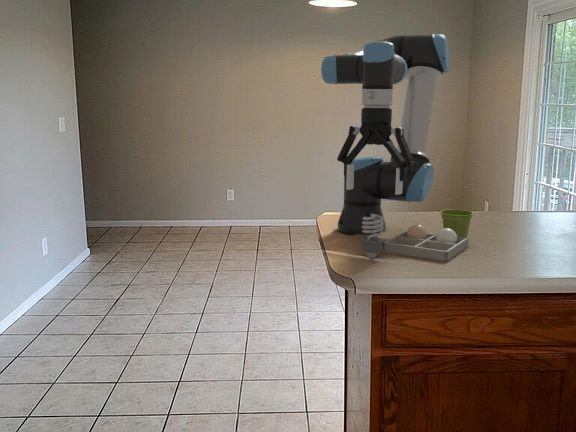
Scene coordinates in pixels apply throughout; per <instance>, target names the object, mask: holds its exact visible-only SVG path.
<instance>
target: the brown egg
mask: <svg viewBox="0 0 576 432" xmlns="http://www.w3.org/2000/svg"><path fill="white" fill-rule="evenodd" d="M407 230H408V231H407ZM407 230H406V231H407V237H408V238H415V239H422V240H425V239H426V237H427V233H428V231H427V229H426V228H425V227H424V226H423V225H421V224H412V225H410V226H409V228H408V229H407Z"/></svg>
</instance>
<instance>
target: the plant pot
mask: <svg viewBox="0 0 576 432" xmlns="http://www.w3.org/2000/svg"><path fill="white" fill-rule="evenodd" d="M439 214H441V219H442V224H443V225H442V226H443V229H444V228H449V229H452V230H453V231H454V232H455V233H456V235H457V237H462V238H468V232H469V228H470V223H471V220H472V216H473V215H474V212H473V211H470V210H465V209H442V210H440V211H439Z"/></svg>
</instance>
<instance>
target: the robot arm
mask: <svg viewBox="0 0 576 432" xmlns="http://www.w3.org/2000/svg"><path fill="white" fill-rule="evenodd" d="M450 54H451V53H450V45H449V41H448V38H447V36H446V35H445V34H443V33H442V34H441V33H440V34H439V33H438V34H434V33H431V34H406V35H403V34H402V35H394V36H390V37H387V38H383V39H381V40H377V41H374V42H373V41H372V42H368V43H365V45H364V46H363V49H359V50H355V51H352V52H349V53H345V54H341V55H340V54H338V55H337V54H334V55H327V56H324V58H323V60H322V62H321V67H320V72H321V73H320V74H321V78H322V80H323V81H324V83H326V84H330V85H331V84H333V85H340V84H341V85H342V84H343V85H345V84H347V85H348V84H349V85H352V84H359V85H361V84H362V86H361V106H363V107H362V108H361V109H360V110H361V115H360V118H361V119H360V123H361V125H360V126H357V125H350V126H349V129H348V134H347V137H346V139H345V141H344V144H343V145H342V148H341V150H340V151H339V154H338V156H337V159H336V160H337V161H338V162H341V163H343V205H342V206H343V207H342V210H341V213H340V216H339V219H338V222H337V231H338V232H339V233H342V234H346V235H352V236H354V235H371V234H372V233H363V232H362V230H375V229H363V228H362V226H363V225H365V224H362V222H363V221H373V220H363V217H371V214H376V215H379V216H382V217H383V223H384V224H383V227H384V229H383V233H384V232H386V230H387V229H386V228H387V225H386V224H387V223H386V219H385V218H384V213H383V209H382V200H385V201H388V200H389V201H398V202H407V203H421V202H424V201H425V200H426V199H427V198H428V196H429V195H430V192H431V189H432V187H433V183H434V174H435V169H434V165H433V164H431V161H430V158H429V157H428V155H427V154H426V153H427V147H428V142H429V141H428V138H429V133H430V127H431V126H430V125H431V122H432V114H433V106H434V100H435V95H436V94H435V93H436V89H437V84H438V83H439V82H441V81H442V79H443V75H444V74H446V73H448V72H450V67H451V65H450V64H451V59H450V58H451V56H450ZM404 79H407V88H406V93H405V100H404V105H403V106H404V107H403V113H402V119H401V124H400V127H399V126H398V127H395V128H394V127H392V121H393V120H392V117H393V116H392V115H393V110H392V107H391V106H392V105H393V92H394V91H393V89H394V88H393V87H394V85H397V84H399V83H401V82H403V81H404ZM390 107H391V108H390ZM359 134H360V135H361V138H360V139H359V140H358V141H357V143H356V145H355V146H354V147H353V145H354V142H355V140H356V138H357V136H358V135H359ZM391 135H393V137H395V140H396V142H397V147H396V146H395V145H394V142H393V140H392V139H391V138H390V137H391ZM367 145H375V146H383V147H384V148H385V149H386V150H387V152H388V154H389V155H390V161H384V158H383V156H380V155H379V156H366V157H358V158H357V156H358V155H359V154H360V153H361V152H362V150H363V149H364V148H365V147H366V146H367ZM352 147H353V148H352ZM351 149H352V150H351ZM350 150H351V151H350ZM375 218H376V217H375ZM377 219H380V218H377ZM379 224H381V223H379ZM369 226H374V225H372V224H370V225H369ZM379 228H381V227H379ZM377 233H380V232H376V234H377Z"/></svg>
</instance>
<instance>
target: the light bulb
mask: <svg viewBox="0 0 576 432" xmlns="http://www.w3.org/2000/svg"><path fill="white" fill-rule="evenodd" d="M375 217H376V218H375ZM377 218H380V219H377ZM363 220H373V221H363V222H362V224H365V225H363V226H362V228H363V229H375V230H362V232H363V233H372V234H368V236H365V237H363V238H362V239H361V250H362V251H363V252H366V256H367V258H369V259H371V260H373V259H375V258H376V257H377V253H379V252H380V253H381V251H382V248H383V242H384V241H383V239H382V238H381V237H380V236H381V235H383V233H384V232H383V229H384V227H383V224H384V223H383V217H382V216H379V215H376V214H371V217H363ZM379 223H381V224H379ZM370 224H372V225H374V226H369V225H370ZM379 227H381V228H379ZM376 232H380V233H377V234H376Z"/></svg>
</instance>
